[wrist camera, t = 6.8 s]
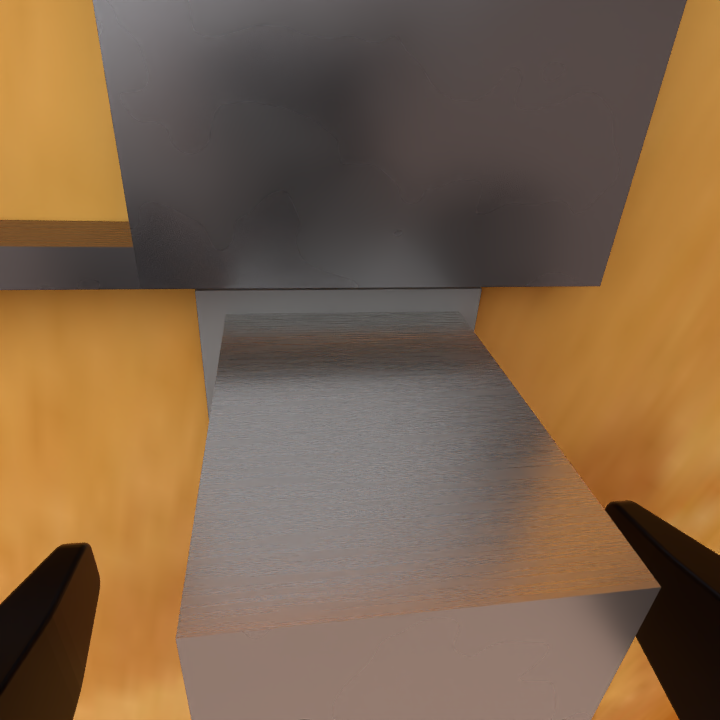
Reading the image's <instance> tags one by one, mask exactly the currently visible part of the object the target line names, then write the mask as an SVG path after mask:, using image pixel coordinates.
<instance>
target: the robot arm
mask: <svg viewBox="0 0 720 720" xmlns="http://www.w3.org/2000/svg"><path fill="white" fill-rule="evenodd" d="M605 511H606V513H607V514H608V515H609V517H610V518H611V519H612V521H613V522H614V523H615V525H616V526H617V528H618V529H619V530H620V532H621V533H622V534H623V536H624V537H625V538H626V540H627V541H628V542H629V544H630V545H631V547H632V548H633V549H634V551H635V552H636V553H637V555H638V556H639V557H640V559H641V560H642V562H643V563H644V564H645V566H646V567H647V568H648V570H649V571H650V572H651V574H652V575H653V577H654V578H655V579H656V581H657V582H658V583H659V585H660V586H661V589H660V590H659V592H658V594H657V596H656V598H655V600H654V602H653V604H652V606H651V607H650V609H649V611H648V613H647V615H646V617H645V619H644V621H643V623H642V624H641V626H640V628H639V630H638V632H637V634H636V638H637V640H638V642H639V644H640V645H641V647H642V649H643V651H644V653H645V655H646V657H647V659H648V661H649V663H650V665H651V666H652V668H653V670H654V672H655V674H656V676H657V678H658V680H659V682H660V684H661V686H662V687H663V689H664V691H665V693H666V695H667V697H668V699H669V701H670V703H671V705H672V707H673V708H674V710H675V712H676V714H677V716H678V718H679V720H720V555H718V554H717V553H715V552H713V551H712V550H710V549H709V548H707V547H705V546H704V545H702V544H701V543H699V542H697V541H696V540H694V539H693V538H691V537H689V536H688V535H686V534H685V533H683V532H681V531H680V530H678V529H677V528H675V527H673V526H672V525H670V524H669V523H667V522H665V521H664V520H662V519H661V518H659V517H657V516H656V515H654V514H653V513H651V512H649V511H648V510H646V509H645V508H643V507H642V506H640V505H638V504H637V503H635V502H633V501H615V502H610V503H609V504H608V505H607V506H606V508H605ZM99 590H100V576H99V572H98V569H97V565H96V562H95V558H94V555H93V552H92V548H91V546H90V545H89V544H88V543H71V544H63V545H60V546H59V547H57V548H56V549H55V550H54V551H53V552H52V553H51V554H50V555H49V556H48V557H47V558H46V559H45V560H44V561H43V562H42V563H41V564H40V565H39V566H38V567H37V568H36V569H35V570H34V571H33V572H32V573H31V574H30V575H29V576H28V577H27V578H26V579H25V580H24V581H23V582H22V583H21V584H20V585H19V586H18V587H17V588H16V589H15V590H14V591H13V592H12V593H11V594H10V595H9V596H8V597H7V598H6V599H5V600H4V601H3V602H2V603H1V604H0V720H73V717H74V714H75V710H76V707H77V703H78V699H79V696H80V692H81V688H82V683H83V678H84V673H85V667H86V662H87V656H88V651H89V645H90V640H91V635H92V629H93V624H94V618H95V613H96V607H97V602H98V596H99Z"/></svg>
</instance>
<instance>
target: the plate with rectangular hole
mask: <svg viewBox="0 0 720 720" xmlns="http://www.w3.org/2000/svg"><path fill="white" fill-rule="evenodd" d="M686 1H687V0H93V5H94V11H95V17H96V23H97V30H98V36H99V42H100V48H101V54H102V60H103V66H104V72H105V78H106V84H107V90H108V96H109V103H110V109H111V115H112V121H113V127H114V133H115V139H116V145H117V151H118V157H119V163H120V169H121V176H122V182H123V188H124V194H125V200H126V206H127V212H128V218H129V222H103V221H26V220H0V290H70V289H228V288H386V287H543V286H600V285H601V281H602V278H603V275H604V271H605V268H606V265H607V261H608V258H609V255H610V252H611V248H612V245H613V242H614V238H615V235H616V232H617V229H618V225H619V222H620V219H621V215H622V212H623V209H624V205H625V202H626V199H627V196H628V192H629V189H630V186H631V182H632V179H633V176H634V173H635V169H636V166H637V163H638V159H639V156H640V153H641V150H642V146H643V143H644V140H645V136H646V133H647V130H648V126H649V123H650V120H651V117H652V113H653V110H654V107H655V103H656V100H657V97H658V94H659V90H660V87H661V84H662V80H663V77H664V74H665V70H666V67H667V64H668V61H669V57H670V54H671V51H672V47H673V44H674V41H675V38H676V34H677V31H678V28H679V24H680V21H681V18H682V14H683V11H684V8H685V5H686Z"/></svg>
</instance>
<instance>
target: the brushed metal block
mask: <svg viewBox="0 0 720 720" xmlns="http://www.w3.org/2000/svg"><path fill="white" fill-rule="evenodd" d="M660 589H661V586H660V585H659V583H658V582H657V581H656V579H655V578H654V577H653V575H652V574H651V572H650V571H649V570H648V568H647V567H646V566H645V564H644V563H643V562H642V560H641V559H640V557H639V556H638V555H637V553H636V552H635V551H634V549H633V548H632V547H631V545H630V544H629V542H628V541H627V540H626V538H625V537H624V536H623V534H622V533H621V532H620V530H619V529H618V528H617V526H616V525H615V523H614V522H613V521H612V519H611V518H610V517H609V515H608V514H607V513H606V511H605V510H604V508H603V507H602V506H601V504H600V503H599V502H598V500H597V499H596V498H595V496H594V495H593V493H592V492H591V491H590V489H589V488H588V487H587V485H586V484H585V483H584V481H583V480H582V478H581V477H580V476H579V474H578V473H577V472H576V470H575V469H574V468H573V466H572V465H571V463H570V462H569V461H568V459H567V458H566V457H565V455H564V454H563V453H562V451H561V450H560V448H559V447H558V446H557V444H556V443H555V442H554V440H553V439H552V438H551V436H550V435H549V433H548V432H547V431H546V429H545V428H544V427H543V425H542V424H541V423H540V421H539V420H538V418H537V417H536V416H535V414H534V413H533V412H532V410H531V409H530V408H529V406H528V405H527V403H526V402H525V401H524V399H523V398H522V397H521V395H520V394H519V393H518V391H517V390H516V389H515V387H514V386H513V384H512V383H511V382H510V380H509V379H508V378H507V376H506V375H505V374H504V372H503V371H502V369H501V368H500V367H499V365H498V364H497V363H496V361H495V360H494V359H493V357H492V356H491V354H490V353H489V352H488V350H487V349H486V348H485V346H484V345H483V344H482V342H481V341H480V339H479V338H478V337H477V335H476V334H475V333H474V331H473V330H472V329H471V327H470V326H469V324H468V323H467V322H466V320H465V319H464V318H463V316H462V315H461V314H460V312H459V311H429V312H348V313H266V314H226V316H225V323H224V329H223V336H222V342H221V349H220V355H219V362H218V368H217V374H216V381H215V387H214V394H213V400H212V407H211V413H210V420H209V426H208V433H207V439H206V446H205V452H204V459H203V465H202V472H201V478H200V485H199V491H198V498H197V504H196V511H195V517H194V524H193V530H192V536H191V543H190V549H189V556H188V562H187V569H186V575H185V582H184V588H183V595H182V601H181V608H180V614H179V621H178V627H177V634H176V643H177V648H178V653H179V658H180V663H181V668H182V673H183V679H184V684H185V689H186V694H187V699H188V704H189V709H190V714H191V719H192V720H591V719H592V717H593V715H594V713H595V711H596V709H597V708H598V706H599V704H600V702H601V700H602V698H603V696H604V694H605V692H606V691H607V689H608V687H609V685H610V683H611V681H612V679H613V677H614V675H615V674H616V672H617V670H618V668H619V666H620V664H621V662H622V660H623V658H624V657H625V655H626V653H627V651H628V649H629V647H630V645H631V643H632V641H633V640H634V638H635V636H636V634H637V632H638V630H639V628H640V626H641V624H642V623H643V621H644V619H645V617H646V615H647V613H648V611H649V609H650V607H651V606H652V604H653V602H654V600H655V598H656V596H657V594H658V592H659V590H660Z"/></svg>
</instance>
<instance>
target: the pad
mask: <svg viewBox="0 0 720 720" xmlns="http://www.w3.org/2000/svg"><path fill="white" fill-rule="evenodd" d="M481 290H482V288H481V287H386V288H228V289H195V295H196V304H197V313H198V323H199V332H200V341H201V350H202V359H203V369H204V378H205V387H206V396H207V405H208V415H209V420H210V413H211V407H212V400H213V394H214V387H215V381H216V374H217V368H218V362H219V355H220V349H221V342H222V336H223V329H224V323H225V316H226V314H266V313H348V312H429V311H459V312H460V314H461V315H462V316H463V318H464V319H465V320H466V322H467V323H468V324H469V326H470V327H471V329H472V330H473V331H474V328H475V323H476V318H477V312H478V307H479V301H480V296H481Z"/></svg>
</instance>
